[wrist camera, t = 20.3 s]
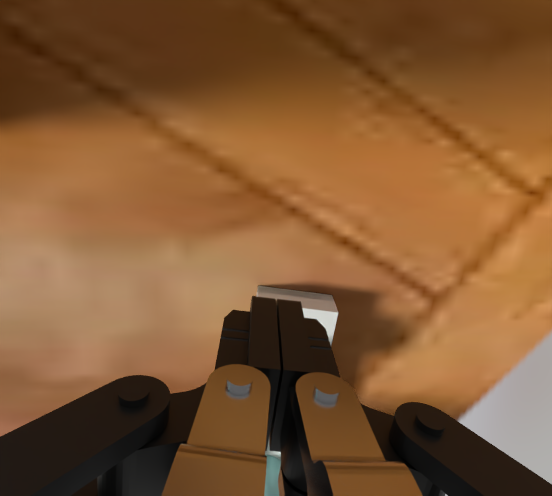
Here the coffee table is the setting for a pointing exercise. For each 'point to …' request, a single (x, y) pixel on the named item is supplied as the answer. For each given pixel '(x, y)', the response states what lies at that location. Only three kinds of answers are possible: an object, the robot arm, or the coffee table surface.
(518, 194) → the coffee table surface
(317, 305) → the tray
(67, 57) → the coffee table surface
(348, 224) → the coffee table surface
